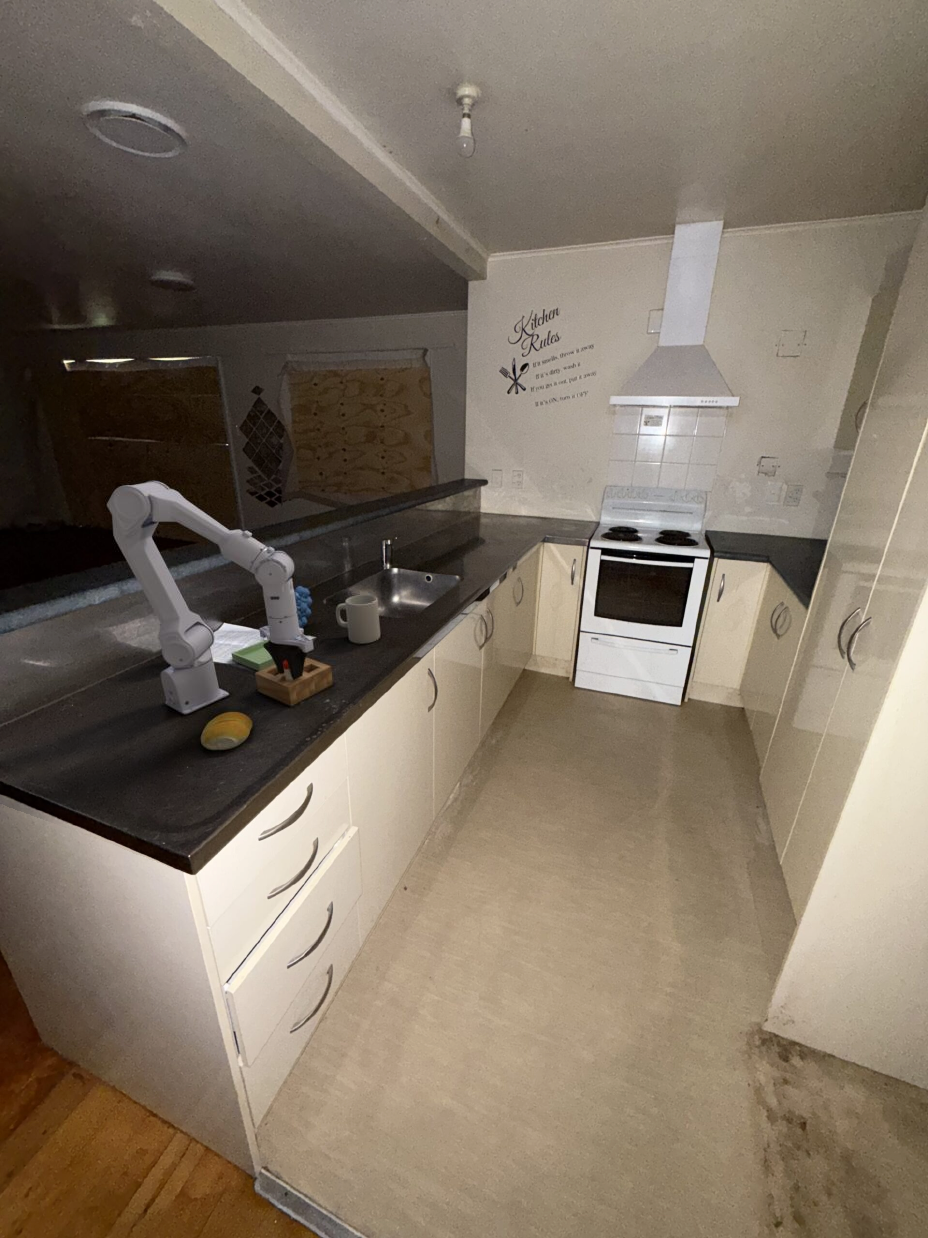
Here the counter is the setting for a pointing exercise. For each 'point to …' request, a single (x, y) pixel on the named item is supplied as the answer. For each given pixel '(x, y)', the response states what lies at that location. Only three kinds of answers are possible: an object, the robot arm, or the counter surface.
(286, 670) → the marker
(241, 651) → the tray
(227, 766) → the counter surface
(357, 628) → the mug
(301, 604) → the grapes
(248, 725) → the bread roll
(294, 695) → the pen holder
